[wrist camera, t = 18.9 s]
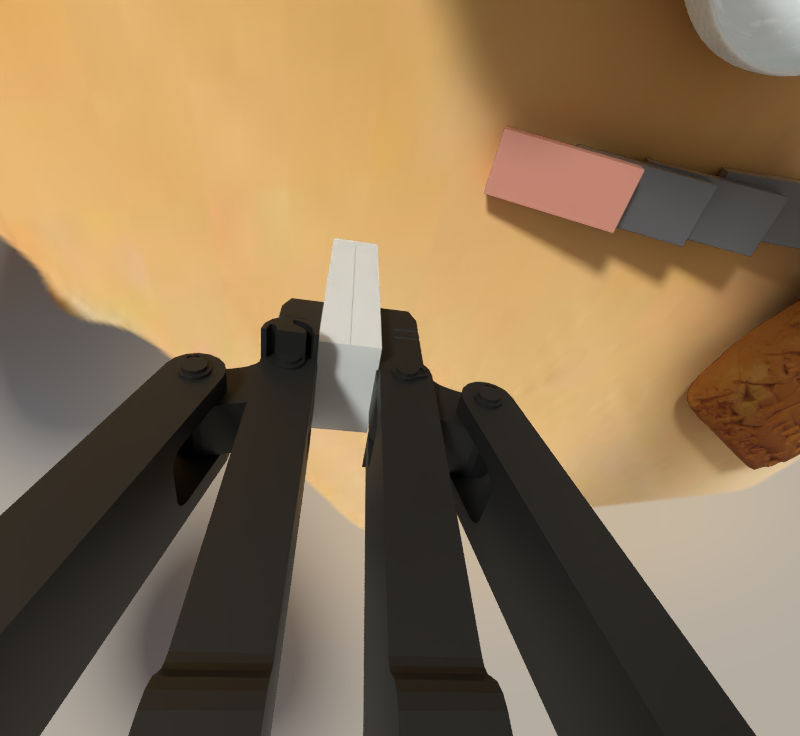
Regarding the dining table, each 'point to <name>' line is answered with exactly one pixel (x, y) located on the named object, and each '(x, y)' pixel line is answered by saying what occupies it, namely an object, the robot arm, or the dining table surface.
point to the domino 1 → (562, 179)
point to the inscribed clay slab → (756, 392)
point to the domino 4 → (796, 218)
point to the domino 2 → (664, 202)
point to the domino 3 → (733, 213)
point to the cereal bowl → (751, 33)
